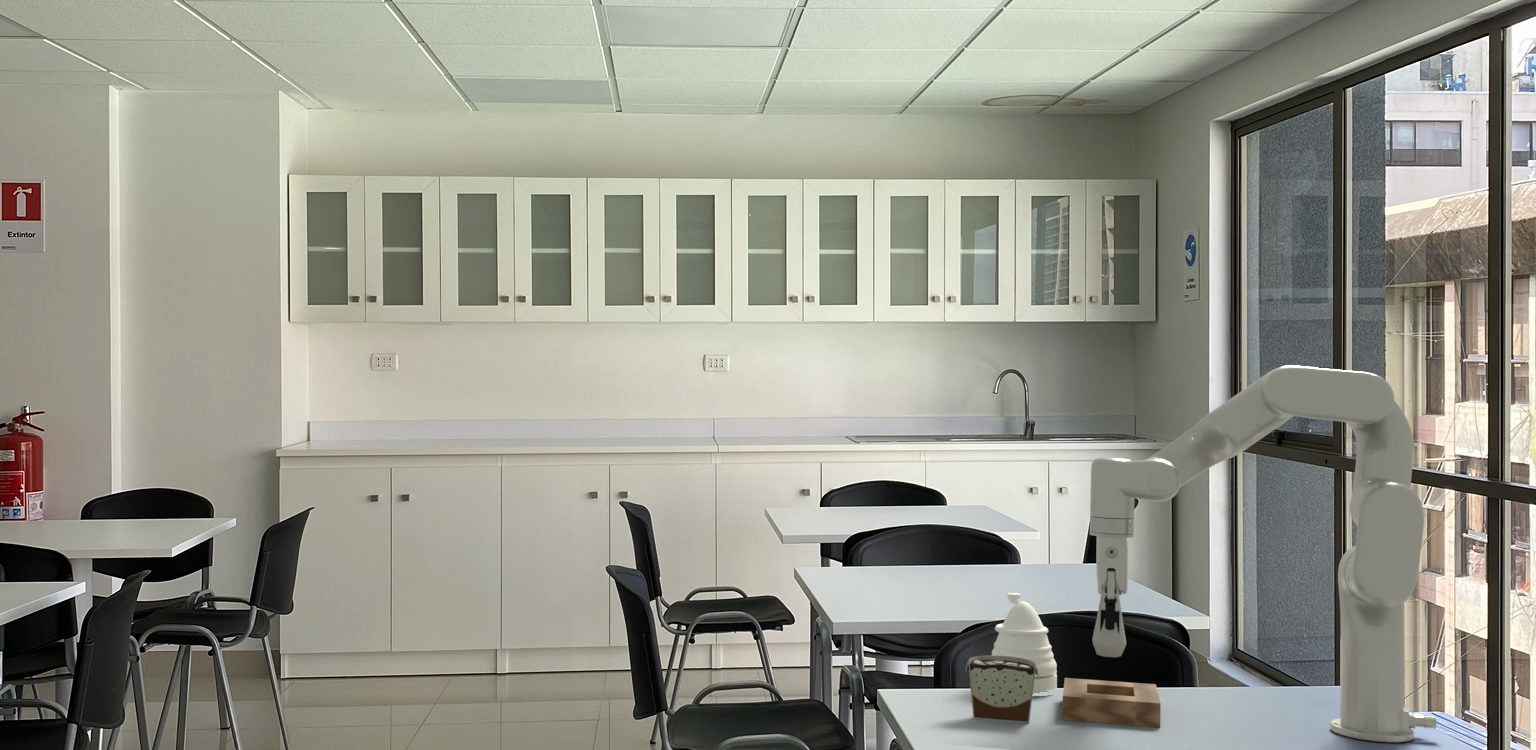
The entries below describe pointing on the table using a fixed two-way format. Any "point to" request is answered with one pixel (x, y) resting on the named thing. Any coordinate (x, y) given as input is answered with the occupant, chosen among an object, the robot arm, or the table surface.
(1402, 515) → the robot arm
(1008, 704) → the food container
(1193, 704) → the table surface
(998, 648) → the honey pot
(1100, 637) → the salt shaker
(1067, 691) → the brown wooden square frame
